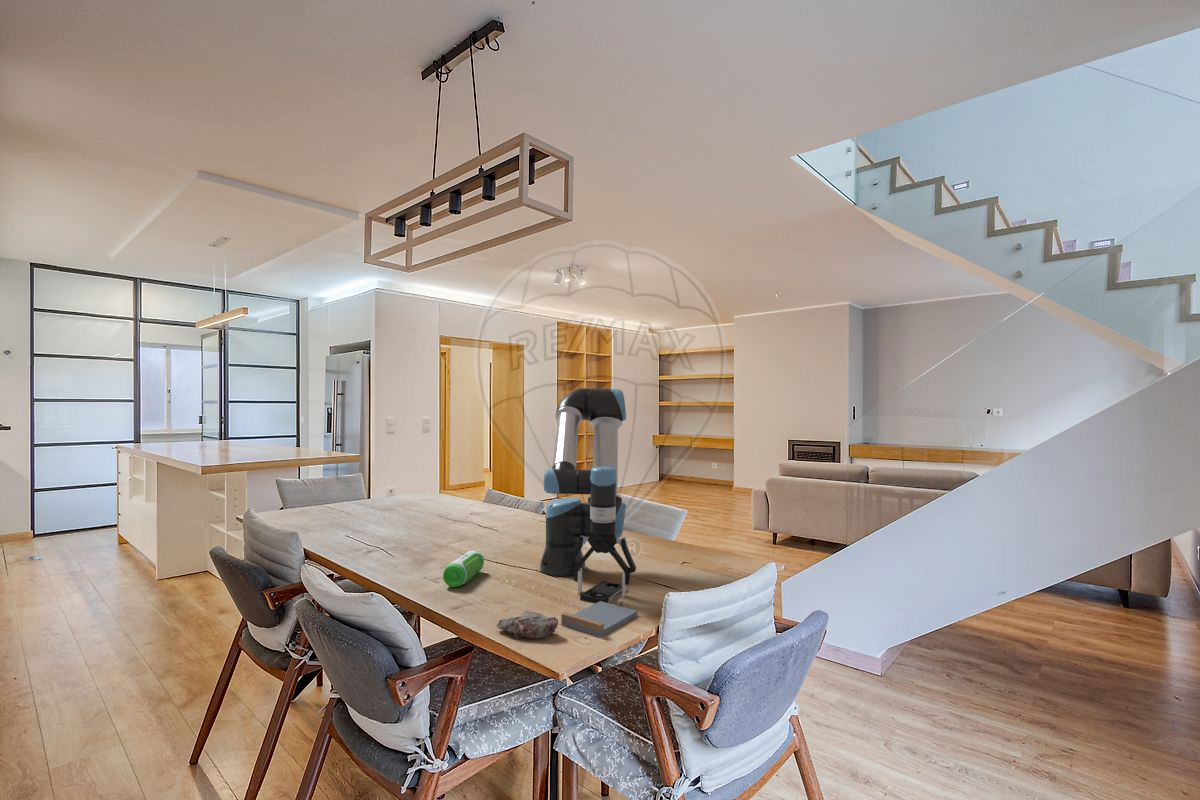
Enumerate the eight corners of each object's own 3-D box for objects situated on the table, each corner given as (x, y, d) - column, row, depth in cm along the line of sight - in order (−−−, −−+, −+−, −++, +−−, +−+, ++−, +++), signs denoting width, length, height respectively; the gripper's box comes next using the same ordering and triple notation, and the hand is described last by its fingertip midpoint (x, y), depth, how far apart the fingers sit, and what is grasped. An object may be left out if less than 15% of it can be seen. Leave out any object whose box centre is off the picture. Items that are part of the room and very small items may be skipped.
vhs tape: (604, 606, 156) (605, 599, 156) (580, 601, 160) (580, 594, 160) (626, 591, 169) (626, 585, 169) (603, 587, 172) (603, 580, 172)
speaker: (464, 590, 167) (464, 564, 167) (441, 588, 168) (441, 563, 168) (485, 572, 185) (485, 549, 185) (464, 571, 186) (464, 548, 186)
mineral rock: (492, 633, 136) (492, 615, 136) (513, 622, 143) (513, 605, 143) (542, 648, 129) (543, 628, 129) (561, 635, 136) (562, 617, 136)
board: (561, 624, 142) (561, 613, 142) (603, 603, 157) (603, 593, 157) (600, 637, 135) (600, 625, 135) (640, 613, 150) (640, 603, 150)
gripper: (558, 520, 163) (557, 595, 163) (643, 525, 159) (642, 601, 159) (564, 515, 170) (563, 586, 170) (646, 519, 166) (645, 592, 166)
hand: (601, 594), depth 164 cm, fingers open, 12 cm apart
